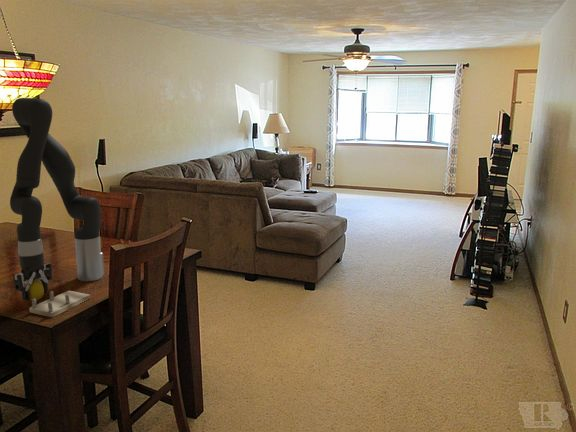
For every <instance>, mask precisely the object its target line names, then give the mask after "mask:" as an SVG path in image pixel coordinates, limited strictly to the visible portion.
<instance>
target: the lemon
mask: <svg viewBox="0 0 576 432" xmlns="http://www.w3.org/2000/svg"><path fill="white" fill-rule="evenodd" d="M28 291H29V296H30V300H31V301H32V299H36V302H38V301H39V300H41V298H42V297H43V296H44V294H45V293H44V288H43V285H42V282H40V280H39V281H38V280H34V281H32V284H31V285H30V286H29V289H28Z"/></svg>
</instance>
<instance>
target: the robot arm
mask: <svg viewBox="0 0 576 432" xmlns="http://www.w3.org/2000/svg"><path fill="white" fill-rule="evenodd" d="M11 111H12V115H13V118H14V120H15V122H16V123H17V125H18V126H19V127H20V128H21V130H22V131H23V133H24V134H25V136H26V137H27V138H28V140H27V142H26V144H25V147H24V149H23V150H22V152H21V154H20V155H19V158H18V161H17V164H16V165H17V166H16V180H15V183H14V186H13V189H12V192H11V195H10V199H9V205H10V206H9V207H10V210H11V211H12V212H13V213H14V214H16V215H19V216H21V222H20V223H18V224H17V226H16V233H17V234H16V235H17V251H18V259H19V266H20V268H21V271H20V272H19V273H13V275H12V278H13V283H14V289H15V291H18V292H21V298H22V300H23V301H24V302H29V301H30V300H31V299H30V296H29V291H28V289H29V286H30V285H31V284H32V281H34V280H35V281H37V280H39V282H40V283H42V285H43V288H44V294H47V293H48V291H49V287H48V283H49V281H51V280H52V279H53V269H52V263H46V262H45V256H44V249H43V248H44V247H43V242H42V237H41V236H42V235H41V223H42V216H43V206H42V202H41V201H40V199H39V198H38V197H36V196H33V195H32V194H33V191H34V189H37V188H38V187H39V186H40V181H41V170H42V165H43V166H44V168H45V170H46V172H47V173H48V175H49V176H50V178H51V180H52V181H53V184H54V186H55V188H56V189H57V191H58V193H59V195H60V199H61V200H62V204H63V205H64V207H65V210H66V212H67V214H68V215H69V216H70V217H71V218H72V219H75V220H78V221H82V227H79V228H77V229H75V230H74V234H73V235H74V246H75V247H74V248H75V257H76V259H75V260H76V269H77V270H76V271H77V280H79V281H80V282H94V281H97V280H100V279H102V278H103V276H105V266H104V254H103V252H102V251H101V239H100V237H101V236H100V234H101V233H100V232H101V228H102V223H101V221H102V220H101V215H102V214H101V204H100V201H99V200H98V199H97V198H95V197H90V196H89V197H88V196H81V194H80V193H79V192H78V190H77V188H76V186H75V179H76V177H75V176H76V165H75V163H74V162H73V160H72V158H71V156H70V154H69V152H68V150H66V148H65V147H64V146H63V145H62V144H61V143H60V142H59V141H57V140H56V138H54V137H53V136H52V135H51V134H50V133H49V131H50V128H51V124H52V121H53V120H52V119H53V108H52V106H51V104H50V103H49V102H48V101H47V100H45V99H42V98H34V97H19V98H17V99H15V100H14V101H13V103H12V105H11Z"/></svg>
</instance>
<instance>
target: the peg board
mask: <svg viewBox="0 0 576 432" xmlns="http://www.w3.org/2000/svg"><path fill="white" fill-rule="evenodd" d="M88 299H89V300H90V299H91V294H89V293H84V292H77V291H72V290H66V291H65V292H62V293H60V294H58V295H56V296H54V291H52V290H51V291H49V299H46V300H44V301H42V302H39V303H38V304H37V301H36V299H32V300H31V306H30V307H29V313H31V314H36V315H40V316H45V317H48V318H53V317H57V316H58V315H60V314H62V313H64V312H66V311H69V310H70V309H73V308H75V307H76V306H79V305H80V303H81V304H82V302H83V303H84V301H85V302H86V300H87V301H89V300H88Z"/></svg>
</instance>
